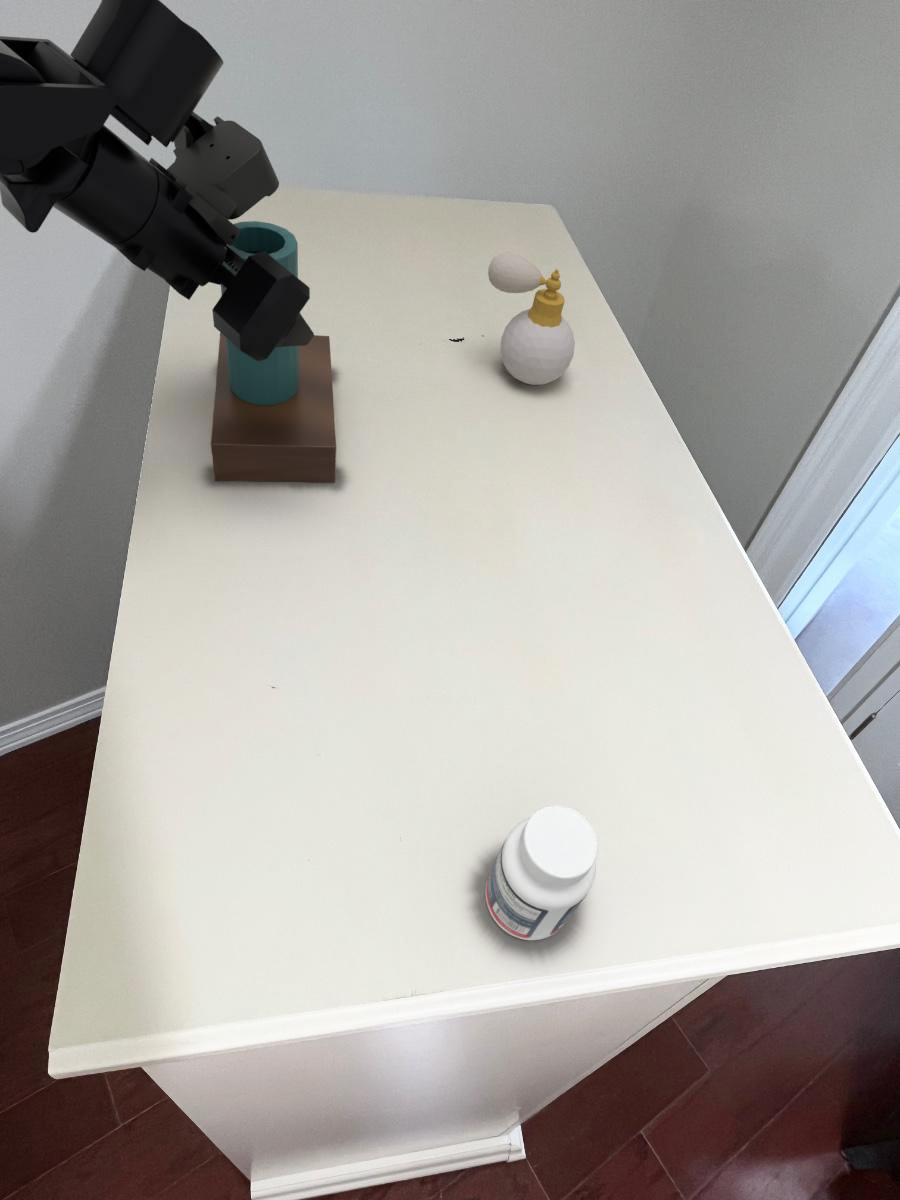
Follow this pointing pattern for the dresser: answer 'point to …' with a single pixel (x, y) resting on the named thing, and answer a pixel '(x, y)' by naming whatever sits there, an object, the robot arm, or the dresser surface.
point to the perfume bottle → (533, 322)
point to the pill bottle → (542, 873)
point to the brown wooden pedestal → (277, 426)
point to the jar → (281, 368)
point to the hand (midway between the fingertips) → (276, 310)
